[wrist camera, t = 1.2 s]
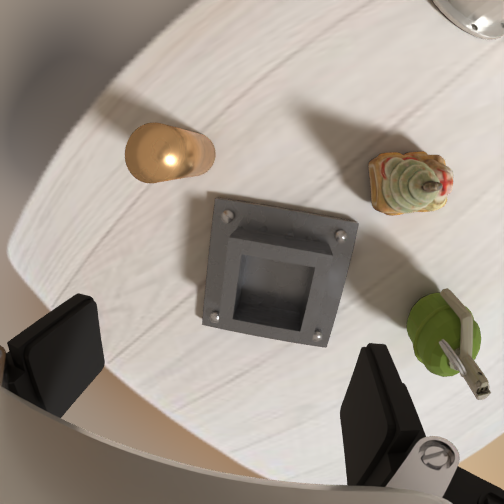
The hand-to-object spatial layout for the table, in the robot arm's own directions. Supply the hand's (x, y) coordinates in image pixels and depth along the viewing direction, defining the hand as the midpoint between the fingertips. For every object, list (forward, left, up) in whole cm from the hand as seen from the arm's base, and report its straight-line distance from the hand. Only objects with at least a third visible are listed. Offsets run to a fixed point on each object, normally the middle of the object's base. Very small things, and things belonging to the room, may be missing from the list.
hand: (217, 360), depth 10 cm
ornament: (-7, +12, -23) cm, 27 cm away
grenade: (+6, +19, -23) cm, 30 cm away
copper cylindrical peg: (-6, -9, -22) cm, 25 cm away
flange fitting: (+5, +1, -22) cm, 23 cm away
